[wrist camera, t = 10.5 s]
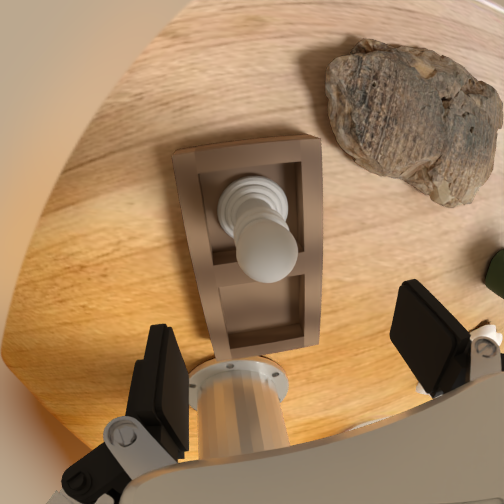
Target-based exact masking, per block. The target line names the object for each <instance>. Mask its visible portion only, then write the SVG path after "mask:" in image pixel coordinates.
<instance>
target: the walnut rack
mask: <svg viewBox="0 0 504 504" xmlns="http://www.w3.org/2000/svg"><path fill="white" fill-rule="evenodd" d="M172 161H173V167H174V173H175V179H176V184H177V190H178V195H179V201H180V206H181V211H182V216H183V221H184V226H185V231H186V236H187V241H188V246H189V250H190V255H191V260H192V264H193V269H194V273H195V278H196V282H197V286H198V290H199V295H200V299H201V303H202V307H203V311H204V315H205V319H206V323H207V327H208V331H209V335H210V339H211V343H212V346H213V350H214V354H215V357H216V361H217V362H219V361H226V360H234V359H240V358H247V357H254V356H260V355H266V354H272V353H277V352H283V351H288V350H293V349H299V348H304V347H308V346H313V345H318V344H319V334H320V317H321V297H322V268H323V178H322V149H321V138H318V137H315V136H312V135H308V134H304V135H289V136H276V137H265V138H255V139H246V140H238V141H230V142H222V143H215V144H208V145H201V146H195V147H189V148H183V149H177V150H176V151H175V152H174V154H173V155H172ZM246 176H262V177H266V178H268V179H270V180H272V181H274V182H275V183H277V184H278V185H279V186H280V187H281V188H282V190H283V191H284V193H285V195H286V198H287V202H288V215H287V219H286V221H285V222H286V224H287V225H288V228H289V232H290V233H291V234H292V235H293V237H294V238H295V240H296V243H297V247H298V257H297V261H296V263H295V266H294V267H293V269H292V271H291V272H290V273H289V274H288V275H287V276H286V277H284V278H283V279H281V280H279V281H277V282H273V283H263V282H258V281H256V280H254V279H252V278H250V277H249V276H248V275H246V274H245V273H244V271H243V270H242V269H241V267H240V266H239V264H238V261H237V257H236V246H235V241H234V239H233V238H232V237H230V236H229V235H228V234H227V233H226V232H225V231H224V230H223V228H222V227H221V225H220V222H219V220H218V215H217V207H218V202H219V199H220V197H221V195H222V193H223V191H224V190H225V189H226V188H227V187H228V186H229V185H230V184H231V183H233V182H234V181H236V180H238V179H240V178H243V177H246Z"/></svg>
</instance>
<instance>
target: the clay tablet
mask: <svg viewBox="0 0 504 504" xmlns="http://www.w3.org/2000/svg"><path fill="white" fill-rule="evenodd" d="M325 95H326V96H327V97H328V99H329V101H328V117H329V120H330V125H331V127H332V131H333V132H334V134H335V136H336V140H337V142H338V143H339V145H340V147H341V148H342V149H343V150H344V151H345V152H346V153H348V154H349V155H351V156H353V157H354V158H355V162H356V163H357V164H359V165H360V166H362V167H363V168H364V169H366V170H368V171H369V172H371V173H374V174H377V175H379V176H387V177H391V178H398V179H402V180H404V181H406V182H407V183H409V184H411V185H412V186H414V187H416V188H417V189H418V190H420V191H421V192H422V193H424V194H426V195H430V198H431V200H433V201H434V202H436V203H438V204H440V205H442V206H445V207H448V208H454V207H456V206H459V205H462V204H463V205H465V204H471V203H472V201H473V199H474V197H475V195H476V193H477V191H478V190H479V187H481V186H482V185H483V184H484V183H485V182H486V181H487V180H488V178H489V176H490V174H491V172H492V170H493V165H494V156H495V151H496V140H497V130H498V129H501V128H502V124H503V111H502V109H503V103H502V101H501V99H500V97H499V95H498V93H497V91H496V90H495V89H494V88H493V87H492V86H490V85H488V84H486V83H485V82H483V81H477V79H476V78H474V77H473V76H472V75H471V74H470V73H469V72H468V71H467V70H466V69H465V67H463V66H462V65H460V64H458V63H456V62H455V61H453V60H452V59H450V58H449V57H446V56H443V55H442V56H439V55H438V54H437V53H435V52H434V51H432V50H428V49H426V48H410V47H406V46H400V47H399V48H394V47H392V46H390V45H387V44H385V43H381V42H379V41H376V40H373V39H362V40H361V41H360V42H359V43H357V45H356V46H355V47H354V48H353V49H352V51H351V55H346V56H340V57H337V58H335V59H334V60H333V61H332V62H331V63H330V64H328V67H327V70H326V82H325Z"/></svg>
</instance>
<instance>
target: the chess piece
mask: <svg viewBox="0 0 504 504" xmlns="http://www.w3.org/2000/svg"><path fill="white" fill-rule="evenodd" d="M217 215H218V220H219V222H220V225H221V227H222V228H223V230H224V231H225V232H226V233H227V234H228V235H229V236H230V237H232V238H233V239H234V241H235V246H236V257H237V261H238V264H239V266H240V267H241V269H242V270H243V271H244V273H245V274H246V275H248V276H249V277H250V278H252V279H254V280H256V281H258V282H263V283H273V282H277V281H279V280H281V279H283V278H284V277H286V276H287V275H288V274H289V273H290V272H291V271H292V269H293V267H294V266H295V263H296V261H297V257H298V247H297V243H296V240H295V238H294V237H293V235H292V234H291V233H290V232H289V228H288V225H287V224H286V222H285V221H286V219H287V215H288V202H287V198H286V195H285V193H284V191H283V190H282V188H281V187H280V186H279V185H278V184H277V183H275V182H274V181H272V180H270V179H268V178H266V177H262V176H246V177H243V178H240V179H238V180H236V181H234V182H233V183H231V184H230V185H229V186H228V187H227V188H226V189H225V190H224V191H223V193H222V195H221V197H220V199H219V202H218V207H217Z"/></svg>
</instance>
